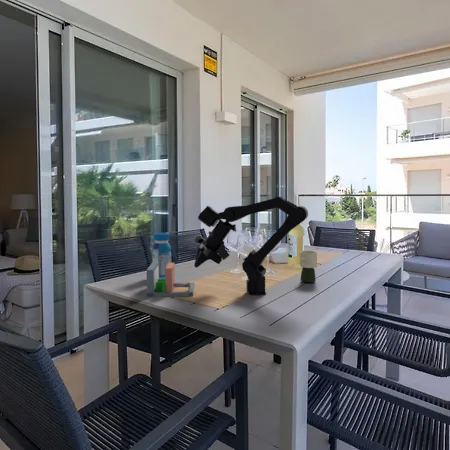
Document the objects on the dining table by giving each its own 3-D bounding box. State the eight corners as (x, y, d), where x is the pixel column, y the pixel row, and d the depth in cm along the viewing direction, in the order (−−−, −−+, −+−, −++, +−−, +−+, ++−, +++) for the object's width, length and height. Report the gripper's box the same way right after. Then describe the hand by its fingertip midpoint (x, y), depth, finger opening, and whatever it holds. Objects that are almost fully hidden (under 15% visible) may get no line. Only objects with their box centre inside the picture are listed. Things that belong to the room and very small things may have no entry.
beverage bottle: (167, 280, 156) (167, 234, 154) (149, 279, 158) (148, 234, 156) (174, 275, 165) (173, 232, 163) (157, 274, 166) (156, 231, 164)
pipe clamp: (159, 288, 145) (158, 277, 144) (168, 288, 145) (168, 276, 144) (155, 296, 133) (154, 283, 133) (165, 296, 134) (165, 283, 133)
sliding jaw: (190, 285, 146) (190, 262, 145) (189, 293, 135) (189, 268, 134) (168, 286, 145) (168, 262, 144) (165, 294, 134) (165, 268, 134)
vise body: (194, 285, 148) (194, 261, 147) (192, 295, 133) (192, 269, 132) (152, 285, 147) (151, 261, 146) (145, 296, 132) (145, 269, 131)
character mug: (308, 278, 159) (308, 249, 158) (322, 281, 154) (323, 251, 153) (293, 282, 152) (293, 252, 151) (307, 285, 147) (308, 254, 146)
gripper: (242, 253, 134) (218, 286, 135) (226, 236, 151) (204, 266, 152) (219, 238, 130) (195, 273, 131) (205, 223, 146) (183, 254, 147)
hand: (195, 266), depth 140 cm, fingers closed
